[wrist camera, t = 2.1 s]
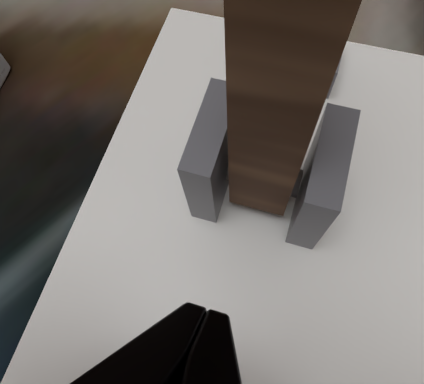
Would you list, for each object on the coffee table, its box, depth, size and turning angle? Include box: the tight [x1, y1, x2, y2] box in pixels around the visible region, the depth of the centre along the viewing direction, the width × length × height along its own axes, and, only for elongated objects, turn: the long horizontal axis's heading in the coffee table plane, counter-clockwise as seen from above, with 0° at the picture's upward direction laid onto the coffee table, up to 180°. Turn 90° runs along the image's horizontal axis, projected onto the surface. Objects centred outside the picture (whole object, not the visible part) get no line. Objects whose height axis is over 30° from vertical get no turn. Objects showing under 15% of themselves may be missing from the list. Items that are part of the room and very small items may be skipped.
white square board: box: [1, 8, 424, 384], centre depth 16 cm, size 24×16×7 cm, turn 163°
